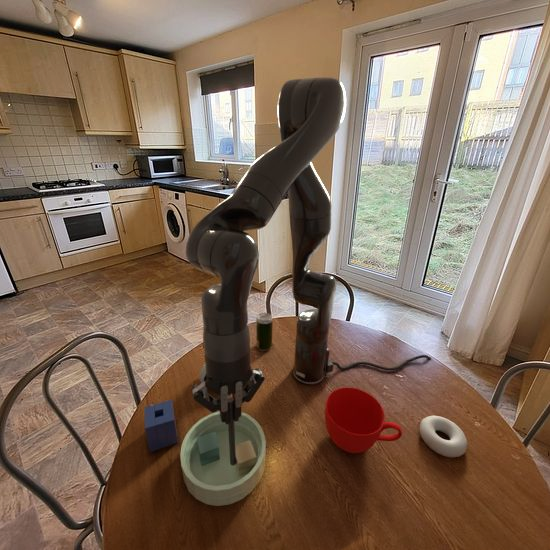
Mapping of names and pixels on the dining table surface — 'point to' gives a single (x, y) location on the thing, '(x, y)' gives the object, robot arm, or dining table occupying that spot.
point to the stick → (231, 432)
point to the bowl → (221, 461)
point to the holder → (160, 425)
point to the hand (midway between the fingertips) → (231, 418)
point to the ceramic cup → (356, 420)
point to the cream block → (245, 458)
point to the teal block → (208, 448)
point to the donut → (439, 445)
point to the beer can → (264, 331)
